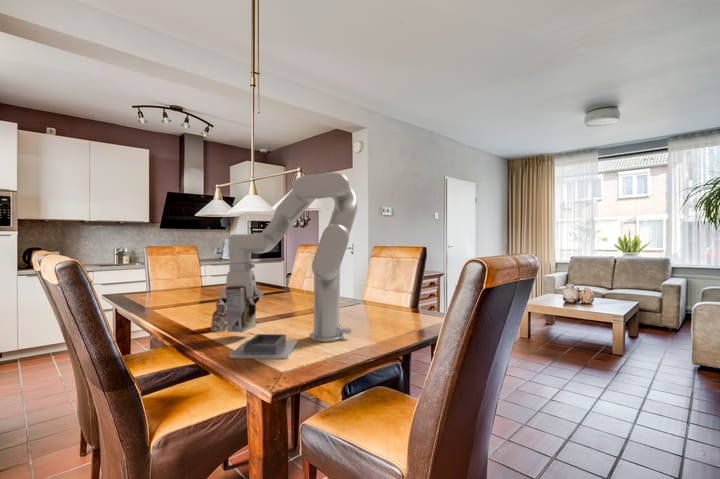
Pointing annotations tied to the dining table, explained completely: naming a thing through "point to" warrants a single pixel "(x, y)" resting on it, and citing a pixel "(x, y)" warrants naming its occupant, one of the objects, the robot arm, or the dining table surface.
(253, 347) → the locating jig
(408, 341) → the dining table surface
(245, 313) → the coffee box
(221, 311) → the figurine
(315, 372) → the dining table surface
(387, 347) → the dining table surface
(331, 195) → the robot arm
